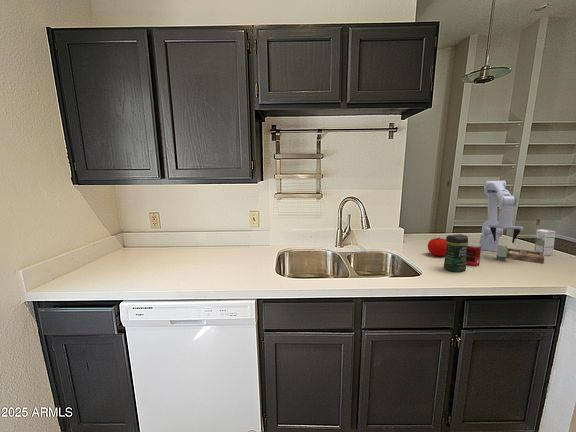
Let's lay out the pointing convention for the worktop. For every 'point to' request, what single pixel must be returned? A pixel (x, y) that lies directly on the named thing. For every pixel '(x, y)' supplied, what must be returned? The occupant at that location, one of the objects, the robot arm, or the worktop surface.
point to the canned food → (473, 254)
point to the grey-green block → (501, 253)
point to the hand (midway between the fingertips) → (503, 241)
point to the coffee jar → (456, 253)
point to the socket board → (525, 255)
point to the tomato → (437, 246)
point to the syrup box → (545, 241)
